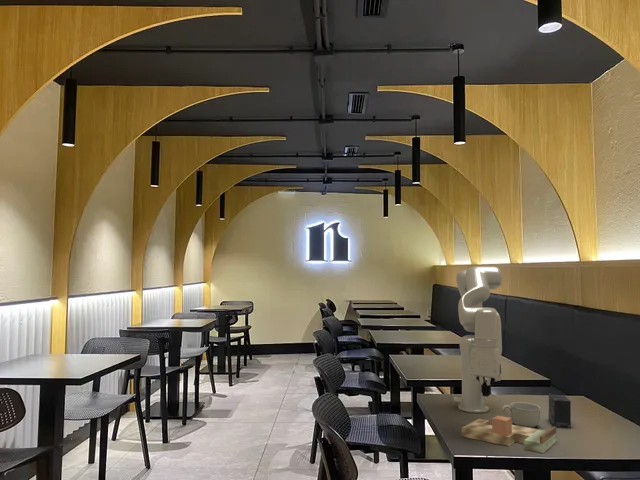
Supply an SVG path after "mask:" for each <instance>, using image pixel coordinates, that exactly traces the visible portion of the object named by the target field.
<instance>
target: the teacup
mask: <svg viewBox="0 0 640 480" xmlns="http://www.w3.org/2000/svg"><path fill="white" fill-rule="evenodd" d="M506 409H508V410H509V412H510V415H509V414H508V413H506V411H505V410H506ZM501 412H502V414H503V415H504V417H509V418H512V423H514V425H516V426H522V427H528V428H533V429H535V427H536V426H538V425H539V424H540V419H541V406H539V405H538V404H535V403H533V402H532V403H531V402H524V401H514V402H511V403H510V404H509V405H508V404H505V405H503V406H502V407H501Z"/></svg>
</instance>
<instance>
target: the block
mask: <svg viewBox="0 0 640 480" xmlns="http://www.w3.org/2000/svg"><path fill="white" fill-rule="evenodd" d="M491 424H492V433H495V434H500V435H505V436H507V435H509V434H510V433H512V425H513V421H512V418H509V417H506V416H502V415H495V417H493V418H492V419H491Z"/></svg>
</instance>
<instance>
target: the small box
mask: <svg viewBox="0 0 640 480" xmlns="http://www.w3.org/2000/svg"><path fill="white" fill-rule="evenodd" d="M571 404H572V402H571V400H570V399H569V398H568V397H567V396H565V394H563V395H561V394H551V393H549V394H548V422H549V423H550V424H551V425H552V427H553V426H554V427H556V428H562V429H563V428H565V429H571V428H572V425H571V424H572V422H571V421H572V419H571V417H572V413H571V411H572V410H571V408H572V405H571Z"/></svg>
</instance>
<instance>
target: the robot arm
mask: <svg viewBox="0 0 640 480" xmlns="http://www.w3.org/2000/svg"><path fill="white" fill-rule="evenodd" d="M503 277H504V276H503V273H502V270H501V269H500V268H499V267H498V266H493V265H492V266H490V265H484V266H483V265H474V266H470V267H469V268H468V269H462V270H460V271H458V272H457V273H456V277H455V278H456V280H455V281H456V285H457V286H456V287H457V290H458V292H459V294H460V299H459V301H458V303H457V304H458V308H457V310H458V311H457V313H458V319H459V323H460V325H461V326H462V327H463V330H464V331H466V332H470V333H474V334H468V335H467V334H466V335H464V336H462V337H461V338H460V339H459V351H460V356H461V396H459V397H458V396H454V397H453V402H454V403H458V406H457V407H458V409H459V410H460V411H463V412H468V413H476V414H479V413H481V414H482V413H487V412H489V410H490V407H489V406H487V405H486V403H485V402H486V398H487V397H489V396H490V395H491V394H492V384H493V383H494V382H498V381H499V382H500V381H501V380H503V379H502V360H501V357H502V353H503V344H502V343H503V341H502V338H503V337H502V321H501V316H500V313H499V312H498V311H497V310H496V308H494V307H483V303H484V302H486V301H487V300H488V299H489V298H490V295H491V290H497V289H498V288H500V287H501V286H502V285H503V279H504V278H503Z"/></svg>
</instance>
